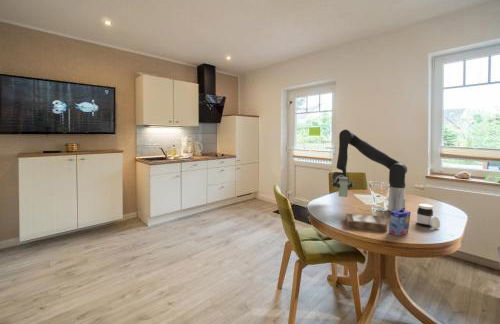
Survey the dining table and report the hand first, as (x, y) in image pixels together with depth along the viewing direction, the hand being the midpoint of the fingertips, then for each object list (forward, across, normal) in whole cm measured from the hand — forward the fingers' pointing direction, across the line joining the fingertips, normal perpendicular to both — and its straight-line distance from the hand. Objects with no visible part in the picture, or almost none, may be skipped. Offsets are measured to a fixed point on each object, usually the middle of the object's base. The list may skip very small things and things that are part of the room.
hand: (343, 186), depth 159 cm
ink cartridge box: (+19, +27, +20) cm, 39 cm away
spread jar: (+4, +46, +20) cm, 51 cm away
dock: (+12, +11, +20) cm, 26 cm away
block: (-3, 0, +7) cm, 7 cm away
